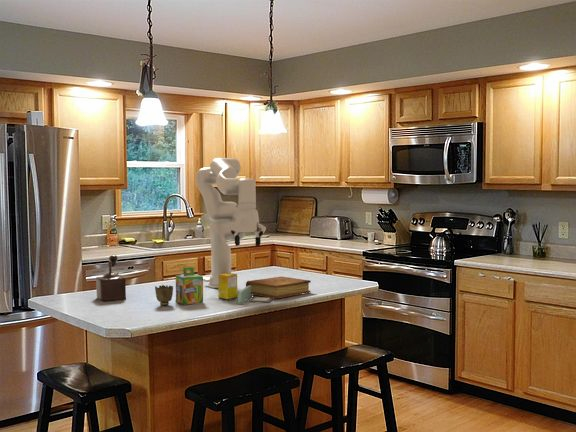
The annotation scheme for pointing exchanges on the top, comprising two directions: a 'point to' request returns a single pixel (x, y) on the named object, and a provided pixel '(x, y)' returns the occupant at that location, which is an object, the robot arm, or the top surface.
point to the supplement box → (228, 286)
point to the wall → (244, 295)
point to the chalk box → (189, 287)
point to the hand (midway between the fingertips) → (247, 245)
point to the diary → (278, 287)
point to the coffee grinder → (111, 284)
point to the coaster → (260, 299)
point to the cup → (164, 294)
